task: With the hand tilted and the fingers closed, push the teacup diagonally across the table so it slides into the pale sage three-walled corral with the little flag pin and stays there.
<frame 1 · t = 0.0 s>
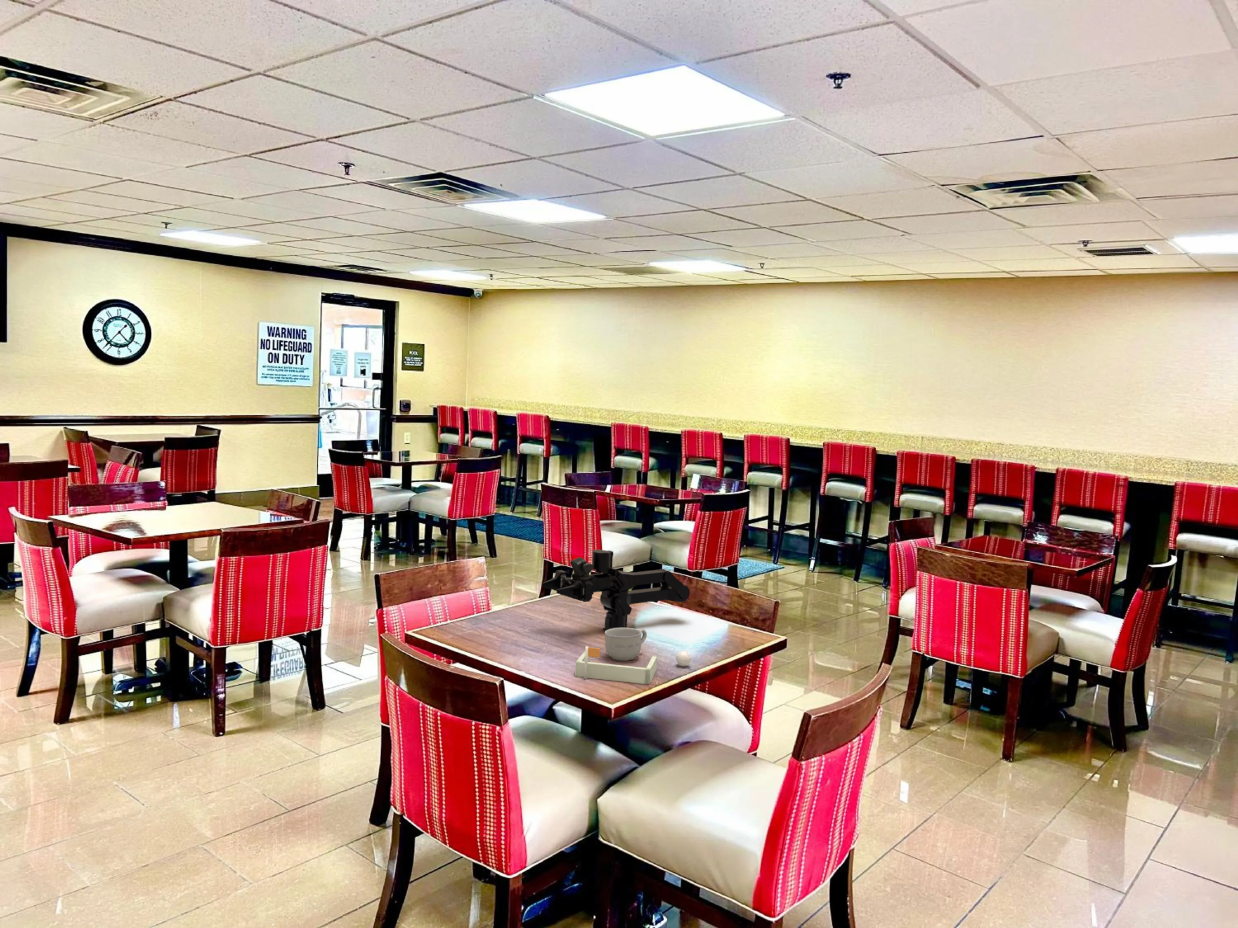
hand: (549, 588, 268), 17 cm above the table, tool horizontal, fingers open, 9 cm apart
teacup: (626, 657, 257), on the table
corral: (616, 672, 243), on the table
golf ball: (683, 658, 251), point 2 cm above the table
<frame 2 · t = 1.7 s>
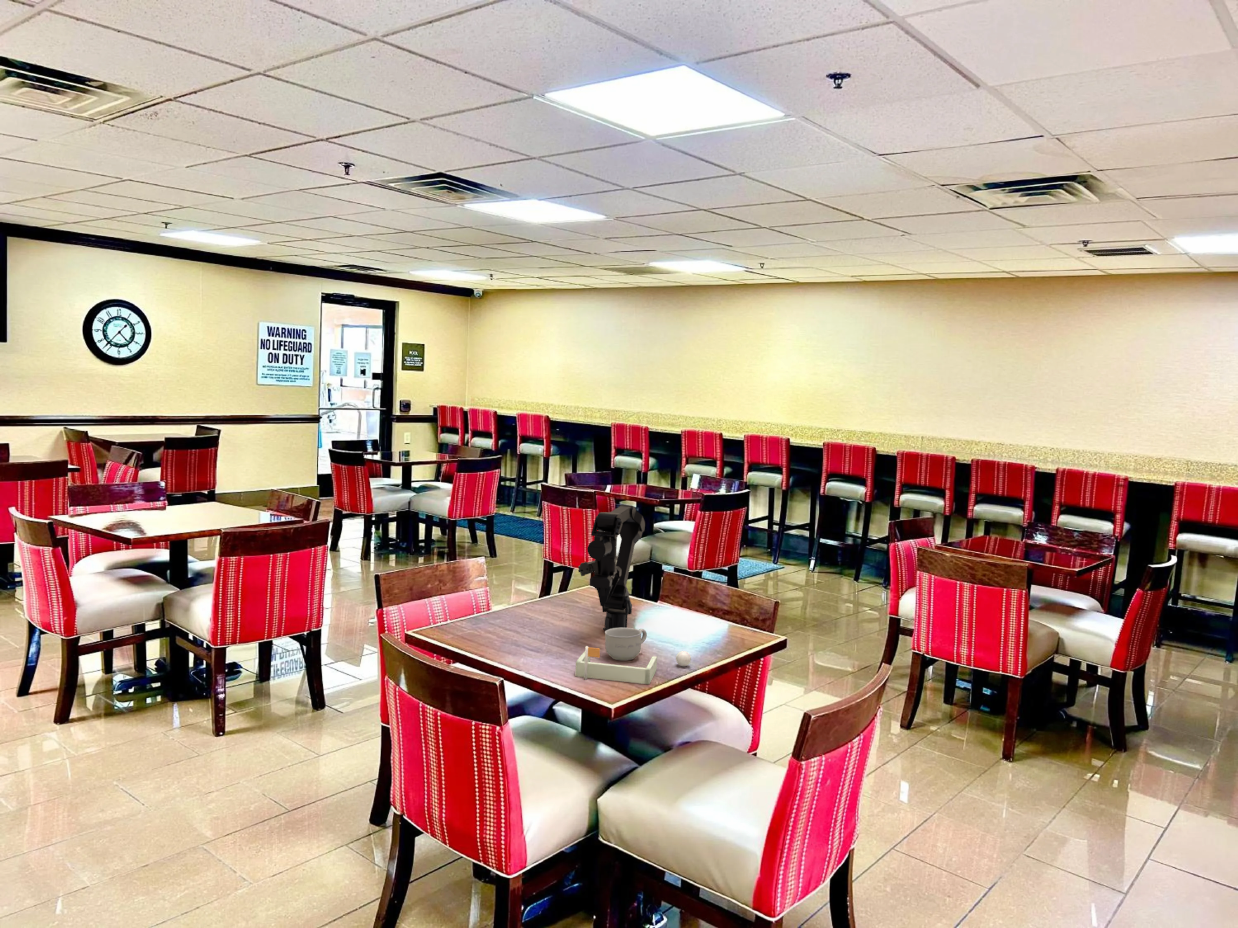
hand: (604, 603, 270), 12 cm above the table, tool pointing down, fingers open, 6 cm apart
nothing on the table moved.
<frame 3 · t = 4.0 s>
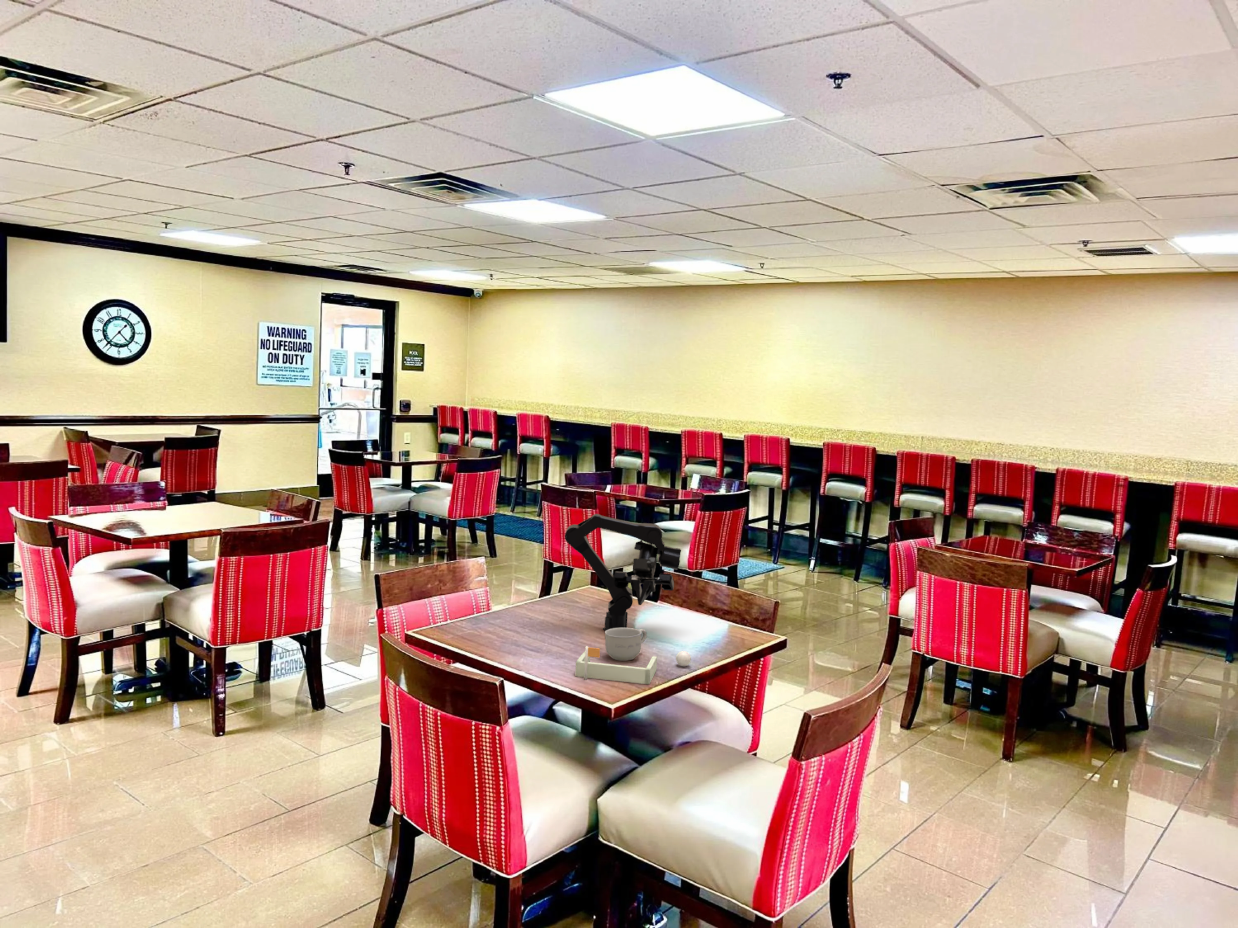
hand: (639, 604, 270), 12 cm above the table, tool tilted 45°, fingers closed
nothing on the table moved.
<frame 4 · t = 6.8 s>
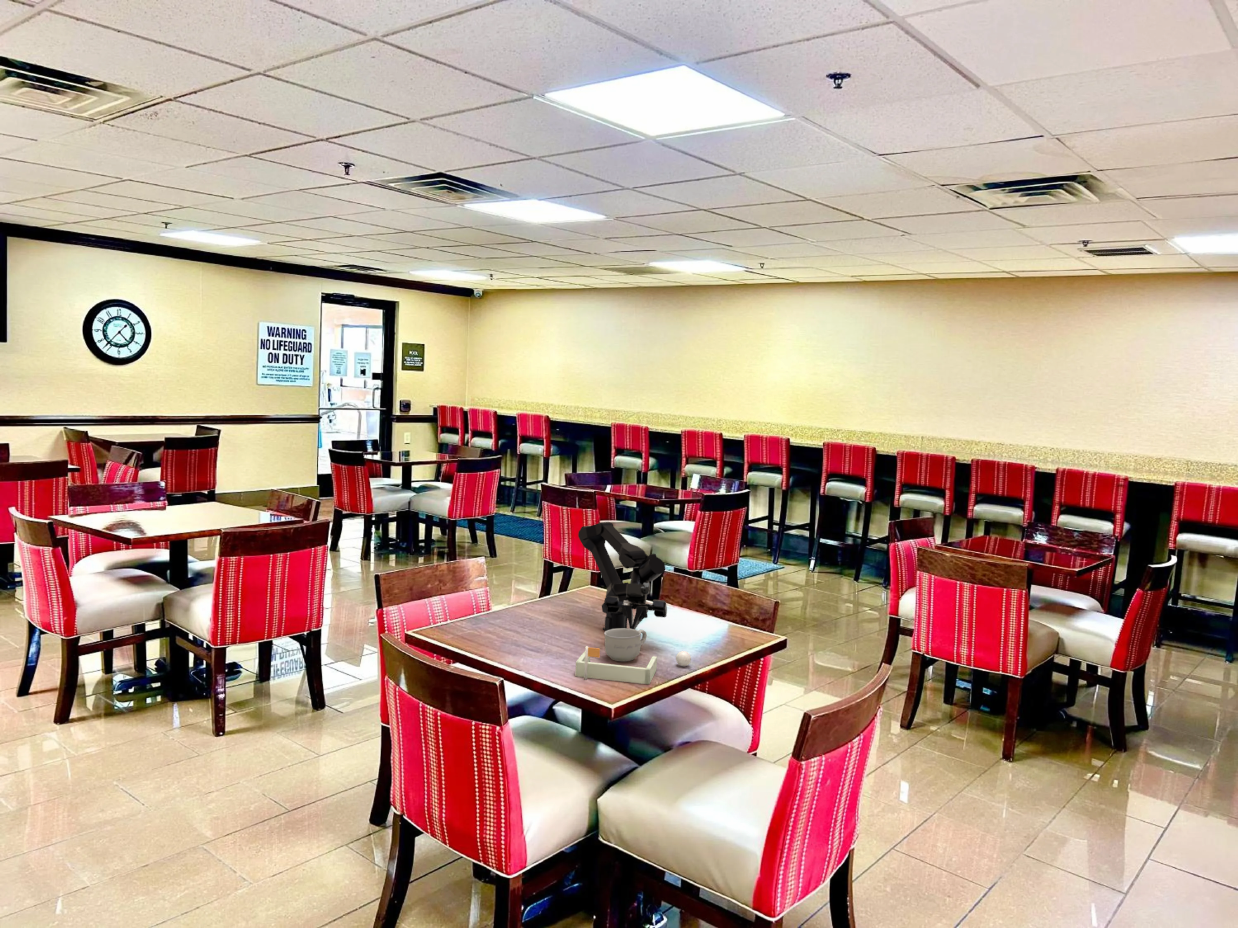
hand: (631, 631, 260), 7 cm above the table, tool tilted 45°, fingers closed
teacup: (626, 658, 256), on the table, touching gripper
everything else where it was.
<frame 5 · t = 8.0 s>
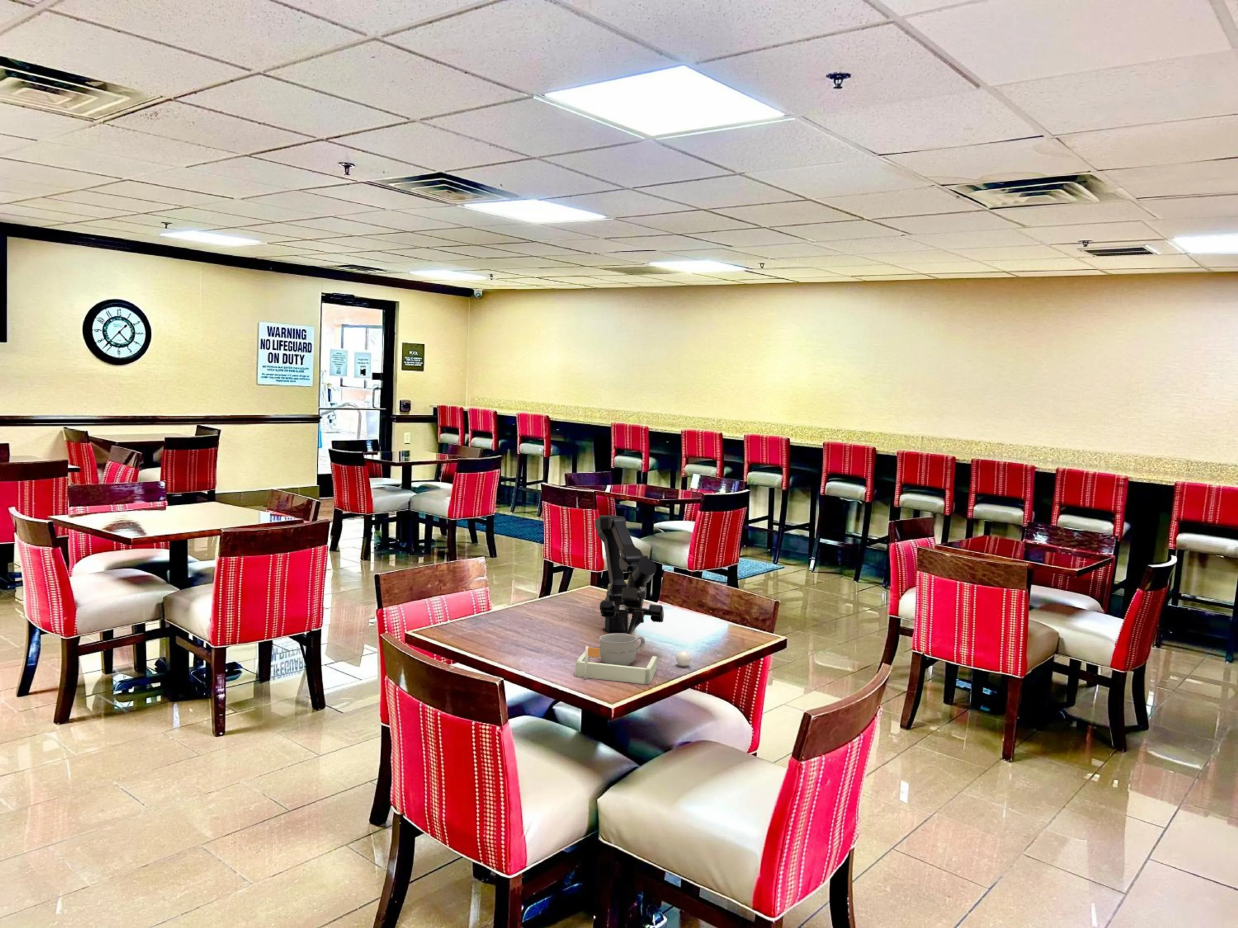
hand: (627, 636, 255), 7 cm above the table, tool tilted 45°, fingers closed, pressing on teacup
teacup: (622, 664, 251), on the table, touching gripper
everything else where it was.
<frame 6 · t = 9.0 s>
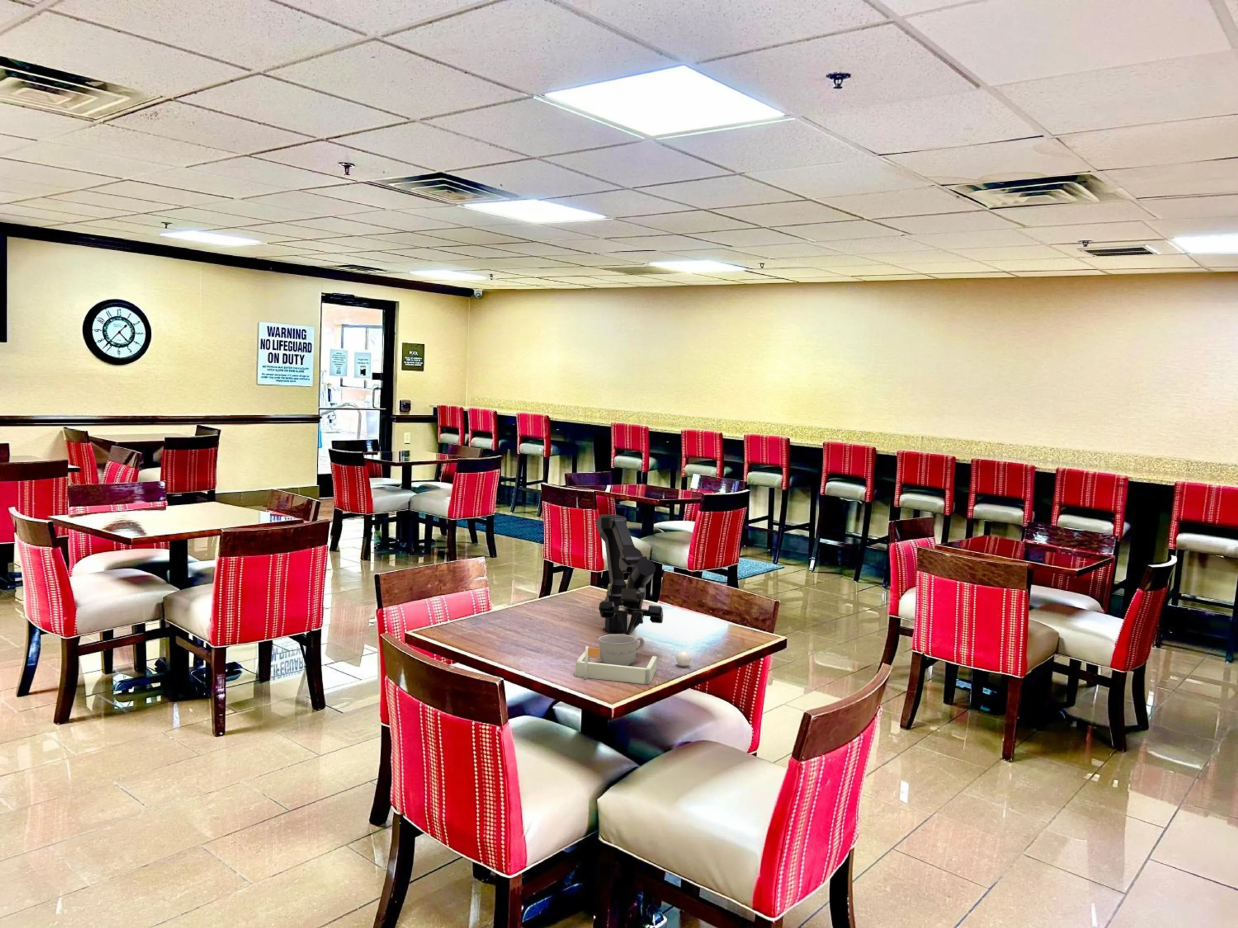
hand: (626, 637, 254), 7 cm above the table, tool tilted 45°, fingers closed
teacup: (621, 665, 250), on the table
everything else where it was.
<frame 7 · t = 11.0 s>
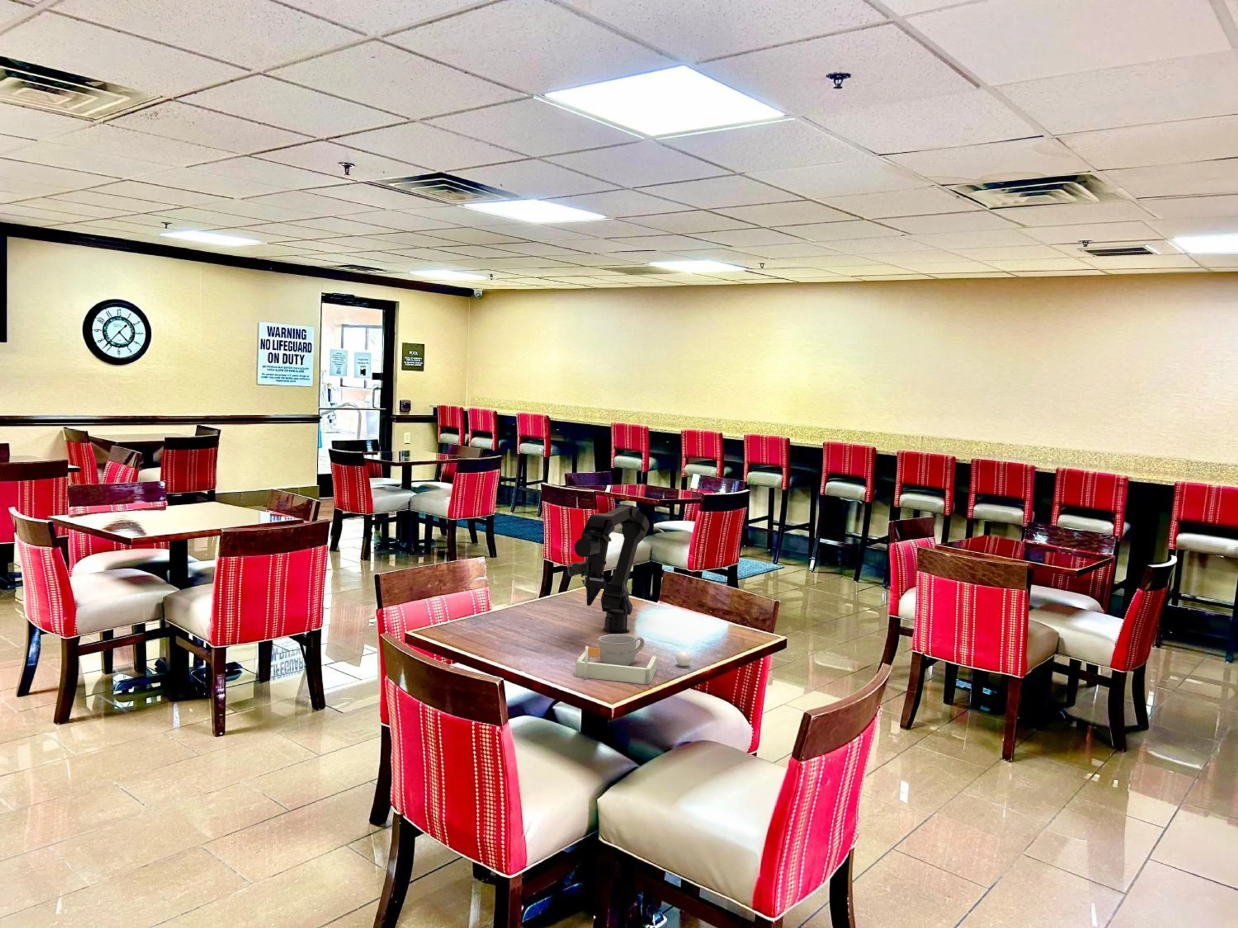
hand: (588, 605, 268), 12 cm above the table, tool pointing down, fingers closed
nothing on the table moved.
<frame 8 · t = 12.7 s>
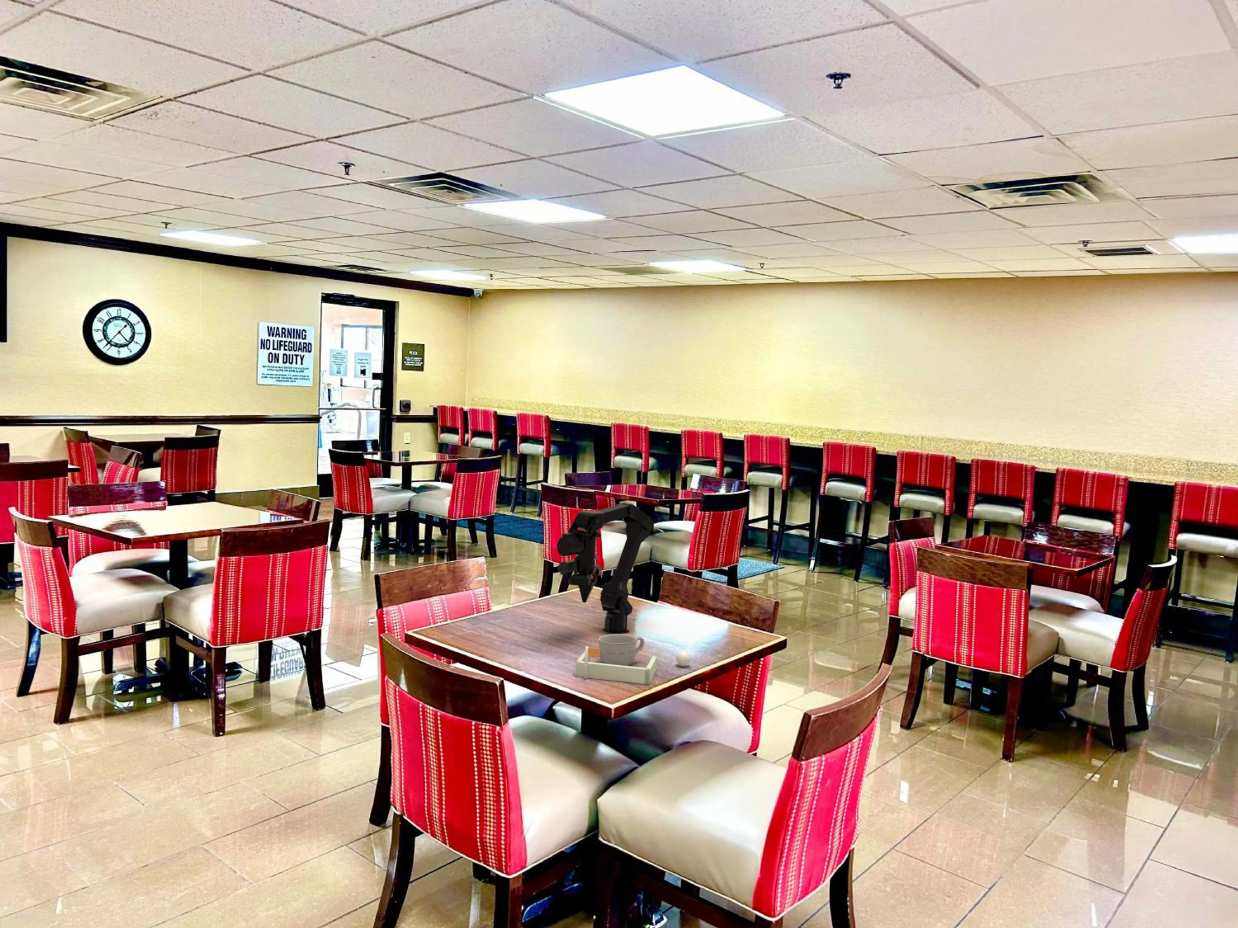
hand: (584, 602, 271), 12 cm above the table, tool pointing down, fingers closed
nothing on the table moved.
at the end: teacup 7.3 cm from the corral (horizontally); teacup tilted 0°; teacup moved 7.3 cm from its start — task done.
